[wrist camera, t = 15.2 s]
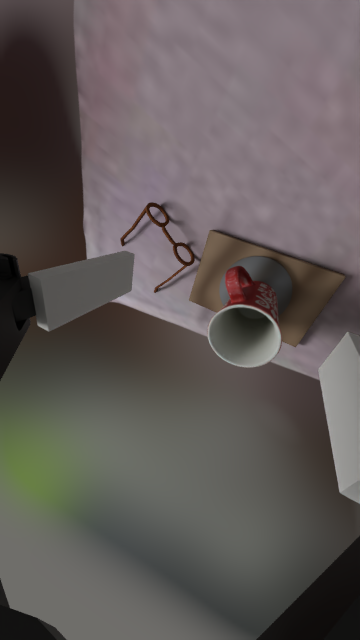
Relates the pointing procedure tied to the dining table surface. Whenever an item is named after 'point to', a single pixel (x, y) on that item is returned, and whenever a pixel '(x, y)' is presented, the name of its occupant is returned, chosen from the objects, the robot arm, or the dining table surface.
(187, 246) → the glasses
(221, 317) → the mug
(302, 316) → the board
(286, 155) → the dining table surface
